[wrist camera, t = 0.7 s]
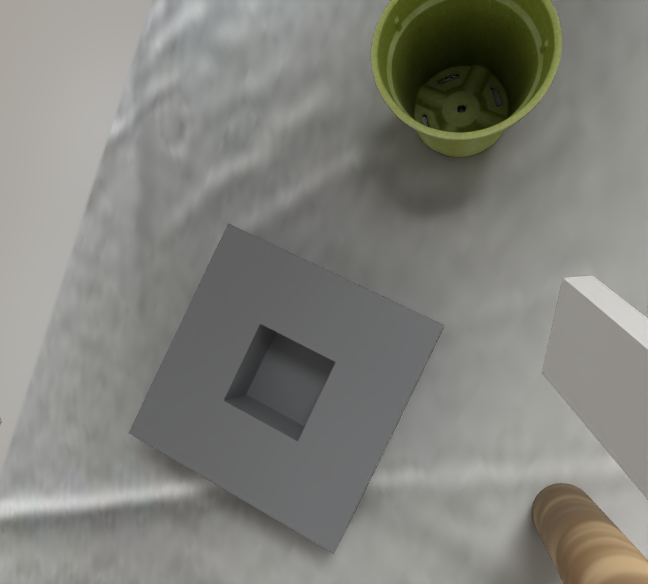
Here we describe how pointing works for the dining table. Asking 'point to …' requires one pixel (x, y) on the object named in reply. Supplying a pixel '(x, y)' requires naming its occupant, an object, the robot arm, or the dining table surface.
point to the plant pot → (465, 66)
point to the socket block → (285, 384)
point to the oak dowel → (585, 539)
